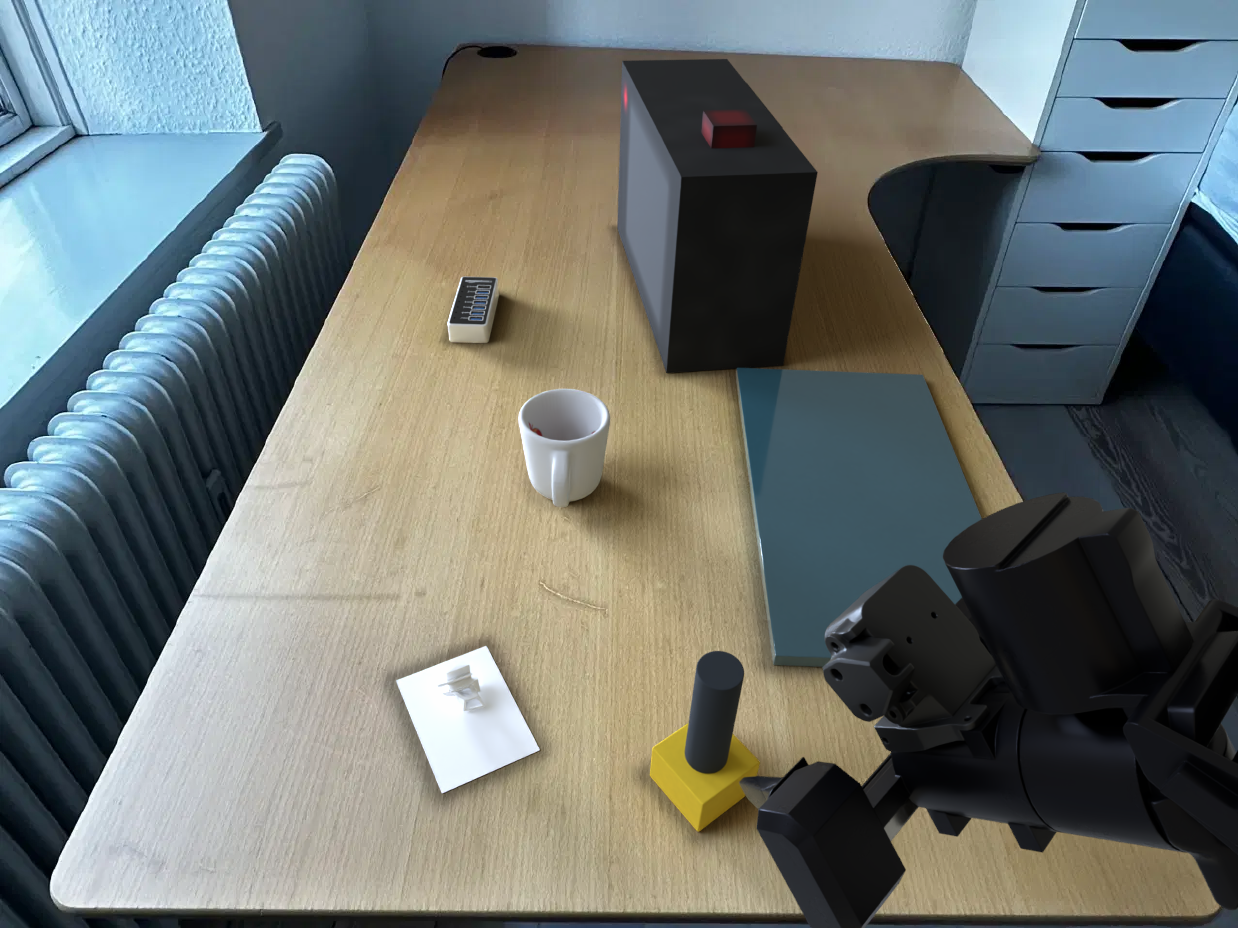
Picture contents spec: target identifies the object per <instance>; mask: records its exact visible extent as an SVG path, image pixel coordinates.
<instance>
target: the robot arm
mask: <svg viewBox="0 0 1238 928" xmlns="http://www.w3.org/2000/svg"><path fill="white" fill-rule="evenodd" d="M1153 543H1154V542H1153V540H1152V538H1151V535H1150V532H1149V530H1148V529H1147V527H1146V524H1145V522H1144V521H1143V518H1142V516H1141V514H1140V512H1139V511H1138V510H1136V509H1134V508H1132V507H1124V508H1117V509H1110V510H1104V508H1103V506H1102V504H1101V503H1100V501H1098V500H1096V499H1094V498H1092V497H1087V496H1069V495H1068V493H1067V492H1064V491H1063V492H1055V493H1049V494H1046V495H1045V494H1044V495H1041V496H1037V497H1033V498H1030V499H1027V500H1024V501H1021V502H1020V501H1019V502H1017V503H1015V504H1012V505H1010V506H1007V507H1005V508H1002V509H999V510H997V511H995V512H993V513H991V514H988V515H987V516H985V517H983V518H982V519H981V520H979V521H978V522H976V523H974V524H973V525H971V526H969V527H968V528H966V529H965V530H964V531H962V532H961V533H960V534H958V535H957V536H956V537H955V538H954V539H953V540H952V541H951V542H950V543H949V544H948V546H947V547H946V548H945V550H944V553H943V560H944V562H945V564H946V566H947V568H948V570H949V572H950V574H951V576H952V578H953V580H954V582H955V584H956V586H957V588H958V590H959V592H960V594H961V596H962V598H961V599H960V600H959V601H958V602H957V603H956V604H954V603H953V602H952V600H951V599H950V598H949V597H948V596H947V595H946V594H945V593H944V591H943V590H942V589H941V588H940V587H939V586H938V585H937V584H936V582H935V581H934V580H933V579H932V578H931V577H930V576H929V575H928V574H927V572H925V571H924V570H923V569H921V568H920V567H917V566H915V565H906V566H904V567H902V568H900V569H899V570H897V571H896V572H894V573H893V574H891V575H890V576H888V577H887V578H885V579H884V580H882V581H881V582H879V583H878V584H876V585H875V586H873V587H872V588H870V589H869V590H867V591H866V592H864V593H863V594H862V595H861V596H860V597H859V598H858V599H857V600H856V601H855V602H854V603H853V604H852V605H851V606H850V607H849V608H847V609H846V610H845V611H844V612H843V613H842V614H841V615H840V616H839V617H838V618H836V619H835V620H834V621H833V622H832V623H831V624H830V625H829V626H828V627H827V629H826V631H825V636H824V637H825V644H826V646H827V649H828V650H829V652H830V653H831V660H830V661H829V662H828V663H827V664H826V665H825V666H824V667H822V674H823V678H824V680H825V682H826V684H828V686H829V687H830V688H831V690H832V691H833V692H834V693H835V694H836V695H837V697H838V698H839V699H840V700H841V702H842V703H843V704H844V705H845V706H846V707H847V709H848V710H849V711H850V713H851V714H852V715H853V716H854V717H856V718H857V719H859V720H861V721H864V722H867V723H870V722H873V721H875V720H877V719H879V720H878V721H876V723H875V724H874V725H873V728H874V730H875V732H876V733H877V736H878V738H879V739H880V741H881V743H882V745H883V747H884V749H885V750H886V751H887V752H890V753H889V754H888V755H887V756H886V758H885V759H884V760H883V761H882V762H881V763H880V765H878V767H877V768H876V769H875V770H874V772H872V773H871V774H870V776H869V777H867V779H866V780H865V781H864V782H863V783H862V784H861V783H860V782H859V781H857V780H856V779H855V778H854V777H852V776H851V775H850V774H849V773H847V772H846V771H845V770H844V769H843V768H841V767H840V766H839V765H838V764H837V763H835V762H834V763H833V762H826V761H816V762H813V763H810V764H809V762H808V761H807V759H806V758H805V756H802V757H801V758H800V759H799V760H798V761H797V762H795V764H794V765H793V766H792V767H791V768H790V769H789V770H788V771H787V772H786V773H785V774H784V775H783V776H768V775H767V776H765V775H757V776H753V777H744V778H743V779H742V780H741V781H740V782H739V784H740V786H741V788H742V790H743V792H744V794H745V795H746V796H745V797H746V799H747V800H748V801H749V802H750V803H751V804H752V805H753V806H754V807H755V808H756V809H757V810H758V811H757V821H756V827H755V828H756V831H757V832H758V834H759V836H760V838H761V840H762V841H763V843H764V845H765V847H766V848H767V851H768V852H769V855H770V856H771V858H772V860H773V861H774V864H776V867H777V869H778V871H779V873H780V874H781V877H782V878H783V880H784V882H785V884H786V886H787V887H788V889H789V891H790V893H791V894H792V896H793V898H794V900H795V902H796V903H797V906H798V907H799V910H800V911H801V913H802V915H803V917H804V918H805V920H806V922H807V923H808V925H809V927H810V928H866V927H867V926H868V924H870V922H871V920H872V919H873V918H874V917H875V915H876V914H877V913H878V912H879V910H880V909H881V907H882V906H883V905H884V904H885V903H886V901H887V900H888V898H889V897H890V896H891V895H892V893H894V891H895V890H896V888H897V887H898V886H899V884H900V883H901V880H902V879H903V877H904V875H905V873H906V871H907V869H906V867H905V865H904V863H903V862H902V859H901V858H900V855H899V854H898V852H897V850H896V848H895V846H894V844H893V842H892V841H893V839H894V838H895V837H896V836H897V835H898V833H899V832H900V831H901V830H902V828H903V827H904V826H905V825H906V823H907V822H908V821H909V820H910V819H911V818H912V816H913V815H914V814H915V812H916V811H917V810H918V809H919V808H920V809H921V808H923V809H926V812H927V814H928V815H929V817H930V819H931V821H932V823H933V825H934V826H935V829H936V831H937V832H938V834H941V835H946V836H951V837H957V838H958V837H959V836H960V835H961V833H962V832H963V831H964V829H965V828H966V827H967V825H968V824H969V823H970V821H971V820H972V819H976V820H982V821H988V822H993V823H999V824H1006V825H1008V827H1009V829H1010V831H1011V833H1012V835H1013V836H1014V839H1015V840H1016V842H1017V844H1018V847H1019V848H1020V849H1022V850H1026V851H1031V852H1037V853H1042V854H1043V853H1044V852H1045V850H1046V849H1047V847H1048V846H1049V844H1050V843H1051V841H1052V840H1053V838H1054V837H1055V835H1056V834H1057V833H1061V834H1067V835H1074V836H1079V837H1086V838H1092V839H1097V840H1104V841H1110V842H1117V843H1123V844H1128V845H1135V846H1139V847H1141V846H1142V847H1147V848H1154V849H1160V850H1166V851H1172V852H1178V853H1183V854H1184V853H1187V854H1189V855H1190V856H1191V857H1192V858H1193V859H1194V861H1195V863H1196V865H1197V867H1198V869H1199V871H1200V872H1201V876H1202V877H1203V879H1204V881H1205V883H1206V885H1207V887H1208V889H1209V891H1210V893H1211V895H1212V897H1213V899H1214V901H1215V902H1216V904H1218V905H1219V906H1220V907H1222V909H1226V910H1227V911H1236V910H1238V749H1237V751H1236V749H1235V747H1234V745H1233V742H1232V741H1231V739H1230V736H1229V735H1228V732H1227V730H1226V728H1225V727H1224V725H1223V724H1222V722H1223V721H1224V719H1225V717H1226V715H1227V714H1228V712H1229V710H1230V709H1231V707H1232V705H1233V703H1234V701H1235V700H1236V698H1237V697H1238V606H1236V605H1233V604H1232V603H1229V602H1226V601H1224V600H1221V599H1217V598H1216V599H1215V598H1214V599H1211V600H1209V601H1208V602H1207V603H1206V605H1204V608H1203V609H1202V610H1201V612H1200V613H1199V614H1198V616H1197V617H1196V619H1195V621H1185V619H1184V617H1183V614H1182V613H1181V610H1180V609H1179V606H1178V604H1177V602H1176V599H1175V598H1174V596H1173V594H1172V592H1171V590H1170V588H1169V585H1168V583H1167V582H1166V580H1165V577H1164V575H1163V573H1162V571H1161V568H1160V567H1159V564H1158V561H1157V559H1156V554H1155V550H1154V544H1153Z"/></svg>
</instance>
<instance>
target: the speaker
mask: <svg viewBox="0 0 1238 928" xmlns="http://www.w3.org/2000/svg"><path fill="white" fill-rule="evenodd" d="M620 87H621V89H620V90H621V91H620V120H619V121H620V124H619V125H620V126H619V155H618V156H619V158H618V162H619V163H618V188H617V189H618V191H617V192H618V193H617V197H618V198H617V221H616V222H617V225H616V228H617V232H618V235H619V237H620V238H619V239H620V240H621V243H622V246H623V248H624V253H625V256H626V258H627V262H628V264H629V267H630V271H631V273H632V276H633V279H634V283H635V285H636V287H637V291H638V294H639V297H640V299H641V303H642V306H643V308H644V311H645V314H646V317H647V320H648V323H649V327H650V329H651V332H652V336H653V338H654V341H655V343H656V346H657V350H658V353H659V355H660V358H661V361H662V365H663V367H664V370H665V373H666V374H673V373H687V372H688V373H691V372H706V371H719V370H720V371H721V370H733V369H735V370H737V368H764V367H780V366H781V367H782V366H784V363H785V358H786V352H787V347H788V341H789V337H790V330H791V325H792V324H791V323H792V318H793V313H794V307H795V302H796V296H797V291H798V286H799V285H798V284H799V279H800V273H801V268H802V264H803V263H802V262H803V256H804V251H805V245H806V240H807V234H808V229H809V224H810V223H809V222H810V219H811V213H812V208H813V207H812V205H813V201H814V195H815V190H816V184H817V178H818V173H819V172H818V170H817V169H816V168H815V167H814V166H813V164H812V163H811V162H810V160H808V157H806V155H805V154H804V153H803V152H802V150H801V149H800V148H799V147H798V145H797V144H796V143H795V141H794V140H792V138H791V137H790V136H789V134H788V133H787V132H786V130H785V129H784V128H783V126H782V125H781V123H780V122H779V121H778V120H777V118H775V116H774V114H772V112H771V111H770V110H769V109H768V107H767V105H765V104H764V102H763V101H762V100H761V99H760V97H759V96H758V95H757V93H756V92H755V91H754V89H752V87H751V86H750V84H748V83H747V82H746V80H745V79H744V78H743V77H742V76H741V74H740V73H739V72H738V71H737V69H736V68H735V67H734V66H733V64H732V63H731V62H730V61H729V59H728V58H703V59H702V58H701V59H698V58H697V59H644V60H643V59H642V60H622V62H621V86H620Z"/></svg>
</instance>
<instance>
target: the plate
mask: <svg viewBox="0 0 1238 928" xmlns="http://www.w3.org/2000/svg"><path fill="white" fill-rule="evenodd" d="M735 383H736V390H737V397H738V405H739V413H740V420H741V430H742V436H743V443H744V452H745V460H746V467H747V474H748V481H749V489H750V498H751V504H752V513H753V521H754V529H755V536H756V543H757V551H758V552H757V553H758V559H759V566H760V574H761V582H762V589H763V590H762V591H763V599H764V605H765V612H766V620H767V629H768V637H769V644H770V651H771V659H772V665H773V666H787V667H789V666H791V667H813V668H815V667H816V668H817V667H818V668H823V667H824V666H825V665H826V664H827V663H828V662H829V661H830V660H831V653H830V652H829V650H828V649H827V646H826V644H825V637H824V636H825V631H826V629H827V627H828V626H829V625H830V624H831V623H832V622H833V621H834V620H835V619H836V618H838V617H839V616H840V615H841V614H842V613H843V612H844V611H845V610H846V609H847V608H849V607H850V606H851V605H852V604H853V603H854V602H855V601H856V600H857V599H858V598H859V597H860V596H861V595H862V594H863V593H864V592H866V591H867V590H869V589H870V588H872V587H873V586H875V585H876V584H878V583H879V582H881V581H882V580H884V579H885V578H887V577H888V576H890V575H891V574H893V573H894V572H896V571H897V570H899V569H900V568H902V567H904V566H906V565H915V566H917V567H920V568H921V569H923V570H924V571H925V572H927V574H928V575H929V576H930V577H931V578H932V579H933V580H934V581H935V582H936V584H937V585H938V586H939V587H940V588H941V589H942V590H943V591H944V593H945V594H946V595H947V596H948V597H949V598H950V599H951V600H952V602H953V603H954V604H956V603H957V602H958V601H959V600H960V599H961V598H962V596H961V594H960V592H959V590H958V588H957V586H956V584H955V582H954V580H953V578H952V576H951V574H950V572H949V570H948V568H947V566H946V564H945V562H944V560H943V553H944V550H945V548H946V547H947V546H948V544H949V543H950V542H951V541H952V540H953V539H954V538H955V537H956V536H957V535H958V534H960V533H961V532H962V531H964V530H965V529H966V528H968V527H969V526H971V525H973V524H974V523H976V522H978V521H979V520H981V519H983V518H982V516H981V512H980V511H979V508H978V505H977V503H976V500H975V499H974V496H973V493H972V491H971V489H970V487H969V483H968V482H967V481H968V480H967V479H966V477H965V474H964V472H963V469H962V467H961V464H960V462H959V460H958V456H957V453H956V451H955V450H954V447H953V445H952V442H951V440H950V437H949V434H948V433H947V432H948V431H947V430H946V427H945V425H944V423H943V420H942V418H941V415H940V412H939V411H938V408H937V405H936V403H935V401H934V397H933V396H932V393H931V390H930V389H929V386H928V384H927V381H926V379H925V377H924V374H920V373H919V374H918V373H916V374H915V373H890V372H867V371H866V372H865V371H863V372H862V371H839V370H837V371H836V370H811V369H785V368H784V369H781V368H780V369H779V368H761V367H752V368H736V369H735Z"/></svg>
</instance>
